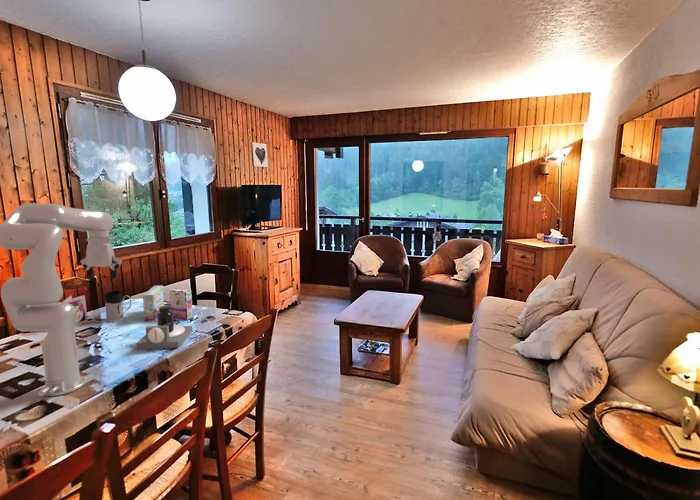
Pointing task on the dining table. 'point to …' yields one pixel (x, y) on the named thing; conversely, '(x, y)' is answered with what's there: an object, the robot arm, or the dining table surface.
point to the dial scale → (164, 337)
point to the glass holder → (114, 306)
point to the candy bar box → (181, 303)
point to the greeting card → (78, 308)
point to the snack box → (153, 302)
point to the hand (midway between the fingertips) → (103, 278)
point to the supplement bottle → (165, 317)
